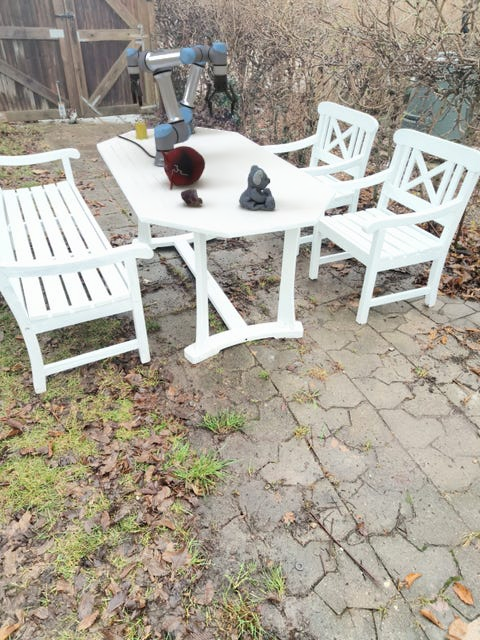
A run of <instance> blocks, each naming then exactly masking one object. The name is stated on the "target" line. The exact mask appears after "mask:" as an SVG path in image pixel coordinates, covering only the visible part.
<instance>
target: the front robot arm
mask: <svg viewBox="0 0 480 640" xmlns="http://www.w3.org/2000/svg"><path fill="white" fill-rule="evenodd" d="M183 48H184V49H178V50H172V51H165V50H161V49H152V50H153V51H145V52H143V51H142V52H143V53H141V54H140V56H139V60H138V63H139V64H138V66H139V69H141V71H142V72H144V73H147V74H152V76H153V78H154V79H156V81H157V84H158V89H159V92H160V95H161V99H162V103H163V106H164V109H165V114H166V117H167V122H166V123H161V124H158V125H156V126H154V128H153V136H154V145H155V155H151V154H150V152H148V151H147V150H146V149H145V148H144V147H143V146H142V145H140V144H139V143H138V142H136V141H134V140H131V139H130V138H127V137H124V136H121V135H118V134H116V137H118V138H121V139H123V140H126V141H129V142H131V143H133V144H134V145H137V146H138V147H139V148H141V149H142V151H143V152H145V154H146V155H148V156H149V157H151V158H153V159H154V165H155V166H157V167H163V168H164V156H163V154H162V153H161V150H162V151H163V152H164V153H165V154H167V153H168V152H169V151H171V150H172V149H174V148H175V145H177V144H181V143H185V142H187V141H188V140H190V138H191V135H192V134H191V129H190V126H189V125H188V124H187V123H186V122H185V121H184V118H182V117H181V115H180V111H179V107H178V104H177V102H178V100H177V96H176V92H175V89H174V85H173V82H172V78H171V75H172V73H173V72H172V69H173V67H175V66H183V65H190V64H191V63H199V62H206V63H207V62H208V63H213V74H214V75H213V83H212V82H211V83H208V88H207V91H206V93H205V97H204V101H205V102H206V103H207V109H208V111H209V115H213V102H212V100H213V98H214V97H215V95H216V94H219V93H221V94H223V93H224V94H225V95H226V96H227V98H228V99H229V101H230V102H231V103H230V116H231V117H232V116H234V115H235V114H234V113H235V111H234V110H235V109H236V103H238V102H239V99H238V97H237V94H236V91H235V89H234V86H233V83H230V84H228V75H227V73H228V63H227V57H228V56H227V53H228V52H227V44H226V43H225V42H222V41H220V42H213V43H212V46H210V45H209V46H208V45H203V46H198V47H191V48H189V47H188V48H187V47H183ZM213 88H214V89H213ZM228 89H229V90H228ZM212 90H213V91H212ZM211 92H212V93H211Z"/></svg>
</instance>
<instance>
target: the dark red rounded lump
mask: <svg viewBox="0 0 480 640" xmlns="http://www.w3.org/2000/svg"><path fill="white" fill-rule="evenodd" d="M161 153H162V154H163V156H164V167H163V171H164V173H165V175H166V176H167V179H168V181H169V183H170V184H169V185H170V186H169V190H172V189H173V186H174V185H175V186H181V187H182V186H186V187H187V186H191V185H194V184H195V183H197V182H198V181H199V180H200V179H201V177H202V175H203V173H204V172H205V168H206V160H205V158H204V157H203V155H202V154H200V152H199V151H198V150H196V149H194V148H193V147H191V146H187V145H181V146H177V147H174V149H172V150H171V151H169V152H168V153H167V154H165V153H164V152H163V151H162V150H161Z"/></svg>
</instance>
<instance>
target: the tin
mask: <svg viewBox="0 0 480 640" xmlns="http://www.w3.org/2000/svg"><path fill="white" fill-rule="evenodd" d="M134 127H135V135H136V136H135V137H136V139H137V140H147V139H148V129H147V122H143V121H137V122H135V123H134Z"/></svg>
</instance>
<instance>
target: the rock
mask: <svg viewBox="0 0 480 640" xmlns="http://www.w3.org/2000/svg"><path fill="white" fill-rule="evenodd" d="M180 197H181V200H182V201H183V202H184V203H185V205H187V206H189V207H191V206H192V207H193V206H201V205H203V204H204V202H203V199H202V197H199V195H198V190H197V189H196V188H188V189H185V190H181V192H180Z"/></svg>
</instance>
